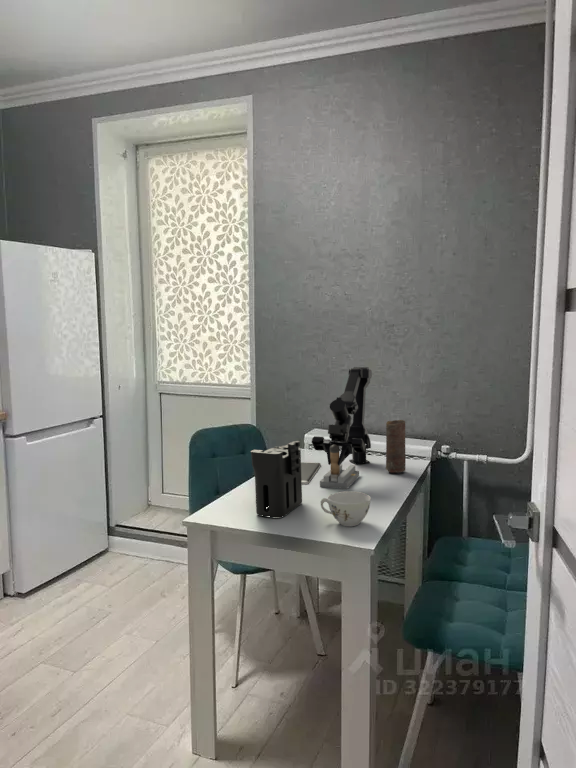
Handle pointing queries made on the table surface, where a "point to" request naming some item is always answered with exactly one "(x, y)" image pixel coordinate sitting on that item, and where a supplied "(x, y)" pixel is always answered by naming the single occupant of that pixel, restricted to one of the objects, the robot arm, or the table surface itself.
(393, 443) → the candle
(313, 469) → the smartphone
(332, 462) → the lever
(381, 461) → the table surface
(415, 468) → the table surface
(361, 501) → the teacup
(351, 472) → the slider console
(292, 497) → the black machined bracket
